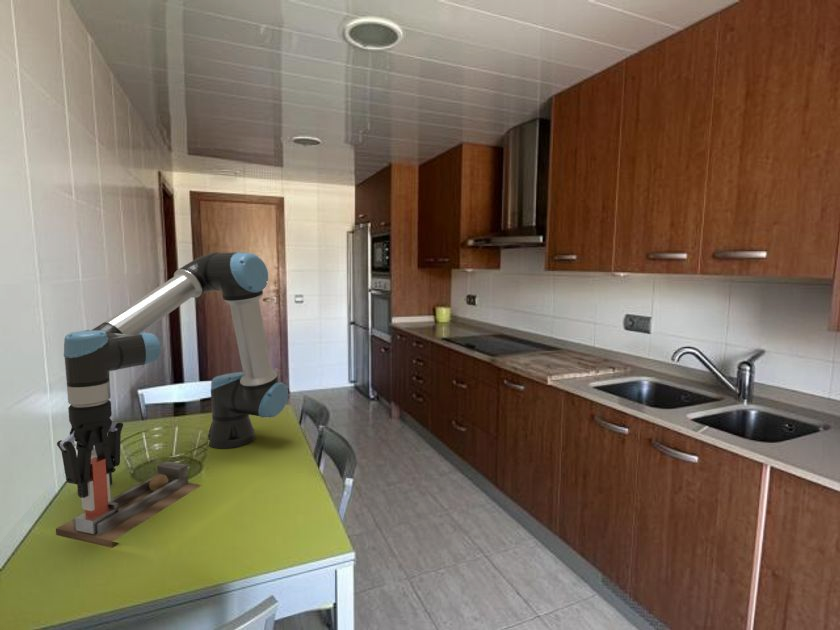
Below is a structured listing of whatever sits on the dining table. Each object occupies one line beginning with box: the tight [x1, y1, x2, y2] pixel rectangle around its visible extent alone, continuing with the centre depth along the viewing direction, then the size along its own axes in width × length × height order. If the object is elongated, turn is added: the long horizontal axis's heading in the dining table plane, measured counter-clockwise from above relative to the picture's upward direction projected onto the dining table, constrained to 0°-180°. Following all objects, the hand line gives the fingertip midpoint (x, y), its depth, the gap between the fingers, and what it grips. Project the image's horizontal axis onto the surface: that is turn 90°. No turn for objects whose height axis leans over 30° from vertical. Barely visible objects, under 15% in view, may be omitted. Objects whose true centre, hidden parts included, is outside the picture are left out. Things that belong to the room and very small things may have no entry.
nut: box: [149, 474, 169, 492], centre depth 117 cm, size 4×4×4 cm
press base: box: [55, 461, 202, 549], centre depth 110 cm, size 26×16×6 cm, turn 164°
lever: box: [74, 457, 119, 534], centre depth 100 cm, size 6×5×15 cm
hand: (96, 504), depth 100 cm, fingers closed on lever, 3 cm apart
